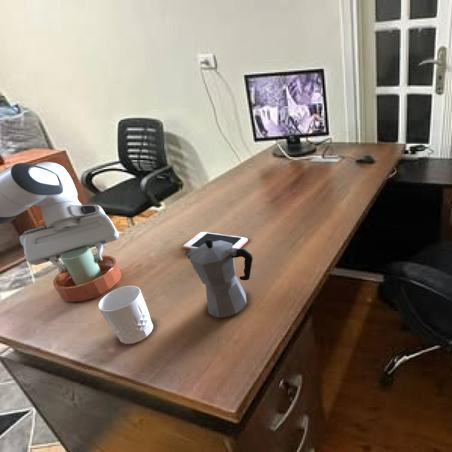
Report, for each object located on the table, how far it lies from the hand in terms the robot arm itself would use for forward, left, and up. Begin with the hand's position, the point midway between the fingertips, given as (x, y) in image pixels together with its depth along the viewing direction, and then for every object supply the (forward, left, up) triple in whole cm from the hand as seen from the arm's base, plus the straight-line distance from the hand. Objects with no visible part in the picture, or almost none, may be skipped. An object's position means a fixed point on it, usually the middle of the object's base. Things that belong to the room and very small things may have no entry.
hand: (82, 266), depth 90 cm
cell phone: (+30, -13, -7) cm, 34 cm away
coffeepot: (+14, -39, -7) cm, 43 cm away
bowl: (0, +1, -7) cm, 7 cm away
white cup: (-3, -27, -7) cm, 28 cm away
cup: (0, +1, -6) cm, 6 cm away
